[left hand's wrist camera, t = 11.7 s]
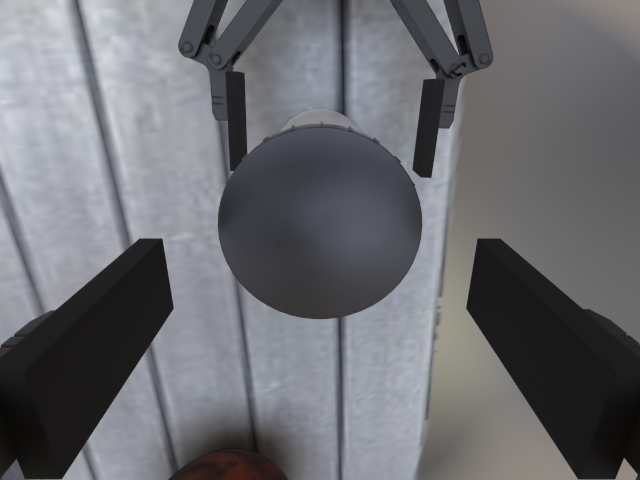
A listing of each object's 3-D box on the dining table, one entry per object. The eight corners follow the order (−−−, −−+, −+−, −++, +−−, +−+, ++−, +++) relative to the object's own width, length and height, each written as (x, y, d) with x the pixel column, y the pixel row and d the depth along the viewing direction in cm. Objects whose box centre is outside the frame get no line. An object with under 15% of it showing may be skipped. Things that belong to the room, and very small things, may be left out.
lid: (266, 323, 21) (262, 341, 19) (191, 161, 18) (180, 167, 16) (433, 274, 20) (442, 290, 18) (386, 91, 17) (393, 92, 15)
